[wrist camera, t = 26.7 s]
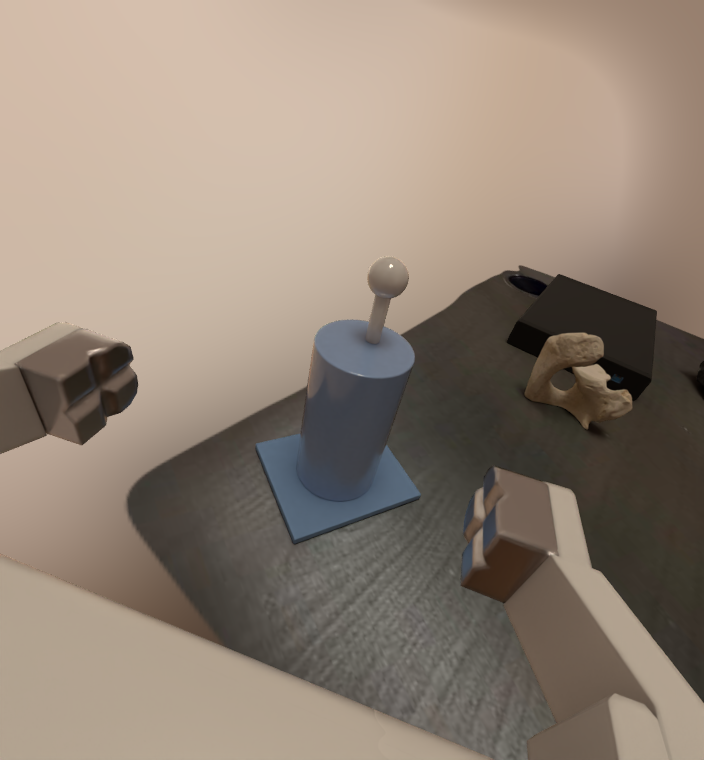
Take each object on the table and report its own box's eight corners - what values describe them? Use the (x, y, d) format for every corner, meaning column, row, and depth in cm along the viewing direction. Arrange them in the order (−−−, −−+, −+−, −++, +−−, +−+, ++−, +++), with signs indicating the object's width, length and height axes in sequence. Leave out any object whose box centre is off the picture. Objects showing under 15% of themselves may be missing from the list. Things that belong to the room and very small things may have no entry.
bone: (634, 402, 38) (679, 340, 30) (602, 453, 37) (639, 401, 28) (548, 362, 43) (567, 299, 35) (516, 406, 41) (527, 350, 33)
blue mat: (293, 544, 23) (294, 539, 22) (255, 448, 28) (255, 443, 27) (419, 498, 27) (421, 494, 26) (366, 422, 32) (367, 417, 31)
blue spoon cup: (349, 517, 24) (416, 302, 15) (279, 472, 26) (302, 255, 17) (387, 462, 28) (458, 267, 19) (324, 427, 30) (363, 232, 21)
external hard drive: (644, 329, 58) (657, 311, 56) (634, 401, 42) (652, 379, 40) (548, 291, 63) (558, 273, 61) (506, 342, 47) (517, 320, 45)
